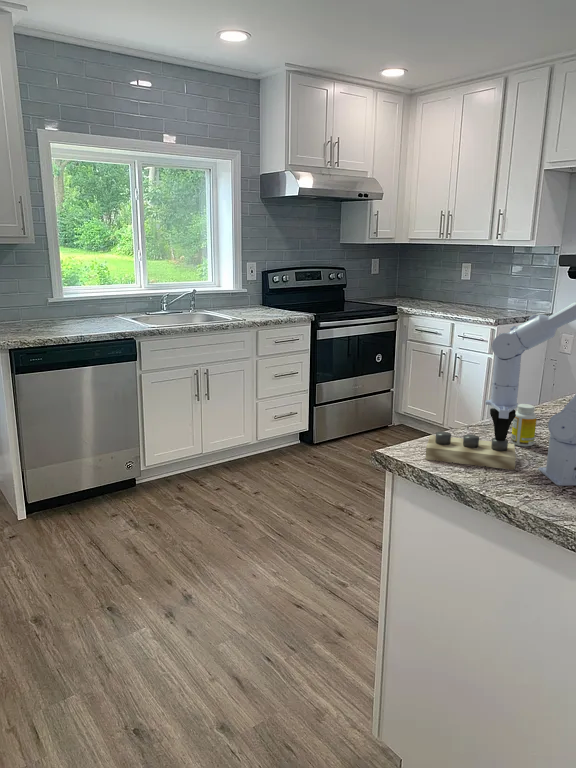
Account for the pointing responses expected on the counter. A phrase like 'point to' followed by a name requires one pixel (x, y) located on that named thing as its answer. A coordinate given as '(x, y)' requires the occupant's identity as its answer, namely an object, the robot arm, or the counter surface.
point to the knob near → (499, 445)
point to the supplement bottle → (524, 426)
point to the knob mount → (471, 453)
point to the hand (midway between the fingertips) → (500, 439)
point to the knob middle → (471, 441)
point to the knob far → (443, 438)
